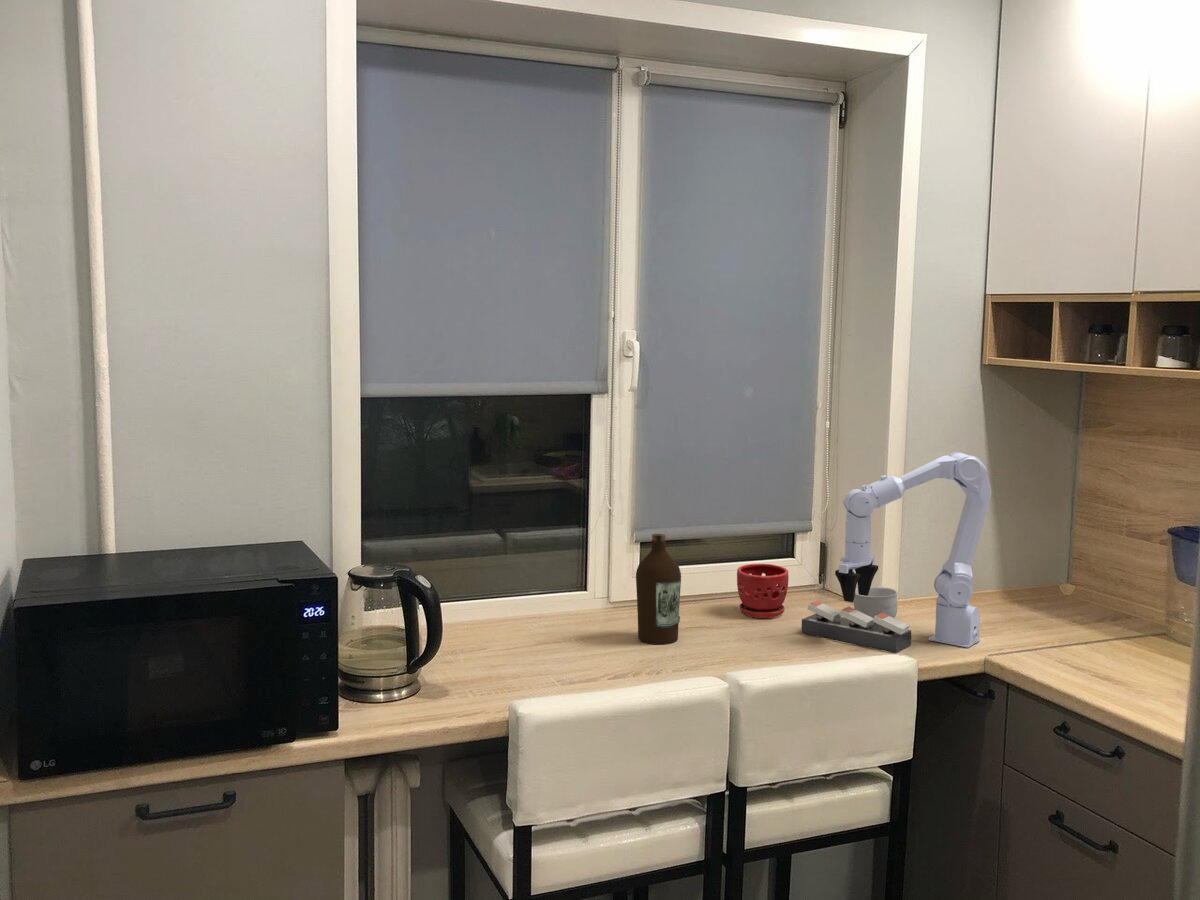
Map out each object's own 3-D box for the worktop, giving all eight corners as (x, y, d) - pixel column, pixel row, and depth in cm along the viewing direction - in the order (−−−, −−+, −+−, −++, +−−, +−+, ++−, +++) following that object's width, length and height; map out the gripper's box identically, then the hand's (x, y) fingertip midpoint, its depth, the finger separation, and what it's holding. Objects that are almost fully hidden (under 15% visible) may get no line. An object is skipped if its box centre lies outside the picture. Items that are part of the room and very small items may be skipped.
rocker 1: (840, 617, 243) (842, 611, 243) (832, 621, 240) (834, 615, 240) (815, 605, 247) (816, 599, 247) (807, 609, 244) (808, 603, 244)
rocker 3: (908, 630, 232) (910, 624, 232) (900, 634, 229) (902, 628, 229) (880, 617, 236) (882, 611, 236) (872, 621, 233) (874, 615, 233)
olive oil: (626, 637, 241) (627, 533, 238) (662, 630, 246) (663, 528, 244) (653, 648, 232) (654, 540, 229) (689, 640, 238) (690, 535, 235)
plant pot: (726, 611, 264) (727, 566, 263) (768, 605, 270) (769, 561, 268) (754, 623, 252) (755, 576, 251) (798, 617, 258) (799, 571, 257)
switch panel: (910, 645, 234) (911, 625, 234) (896, 653, 228) (896, 632, 228) (817, 626, 250) (818, 607, 249) (801, 633, 244) (801, 614, 243)
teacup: (887, 630, 247) (888, 598, 246) (845, 622, 253) (845, 591, 252) (907, 617, 258) (908, 587, 257) (867, 611, 264) (868, 581, 263)
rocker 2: (873, 624, 238) (875, 618, 237) (865, 627, 235) (867, 621, 234) (847, 611, 242) (848, 605, 241) (839, 615, 239) (841, 609, 238)
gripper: (856, 534, 244) (854, 589, 246) (827, 543, 233) (825, 601, 235) (883, 538, 240) (881, 594, 241) (855, 547, 229) (854, 606, 230)
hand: (856, 598), depth 238 cm, fingers open, 7 cm apart
